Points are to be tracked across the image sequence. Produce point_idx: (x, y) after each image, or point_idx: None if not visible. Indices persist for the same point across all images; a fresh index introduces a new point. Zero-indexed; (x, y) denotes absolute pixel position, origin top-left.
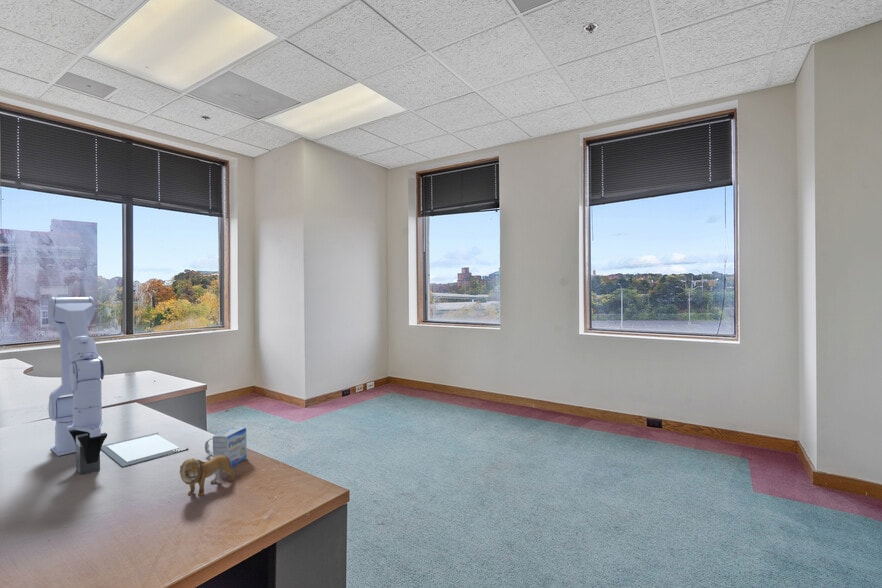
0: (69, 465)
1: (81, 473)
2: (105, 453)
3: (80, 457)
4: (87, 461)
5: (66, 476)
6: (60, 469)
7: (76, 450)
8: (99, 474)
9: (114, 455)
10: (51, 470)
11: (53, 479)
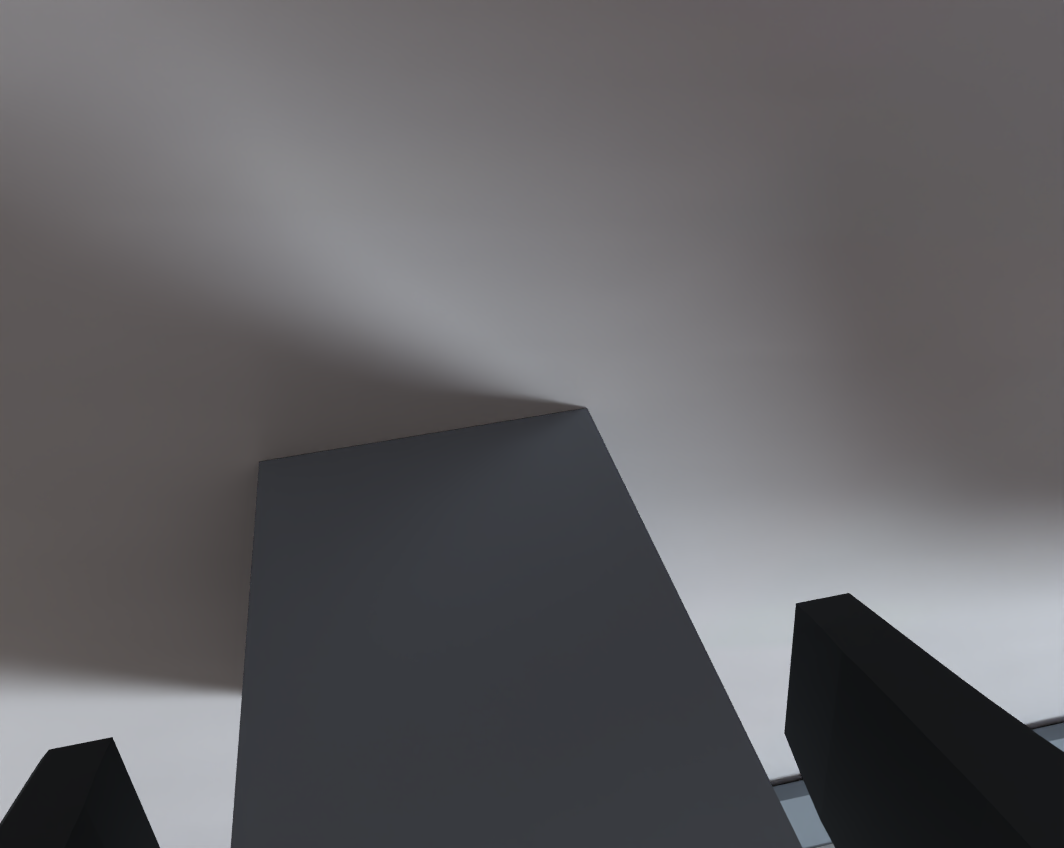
0: (989, 319)
1: (263, 489)
2: (1042, 727)
3: (241, 753)
4: (11, 811)
5: (350, 253)
6: (908, 176)
7: (687, 750)
8: (45, 700)
9: (797, 832)
10: (1010, 22)
11: (339, 14)
